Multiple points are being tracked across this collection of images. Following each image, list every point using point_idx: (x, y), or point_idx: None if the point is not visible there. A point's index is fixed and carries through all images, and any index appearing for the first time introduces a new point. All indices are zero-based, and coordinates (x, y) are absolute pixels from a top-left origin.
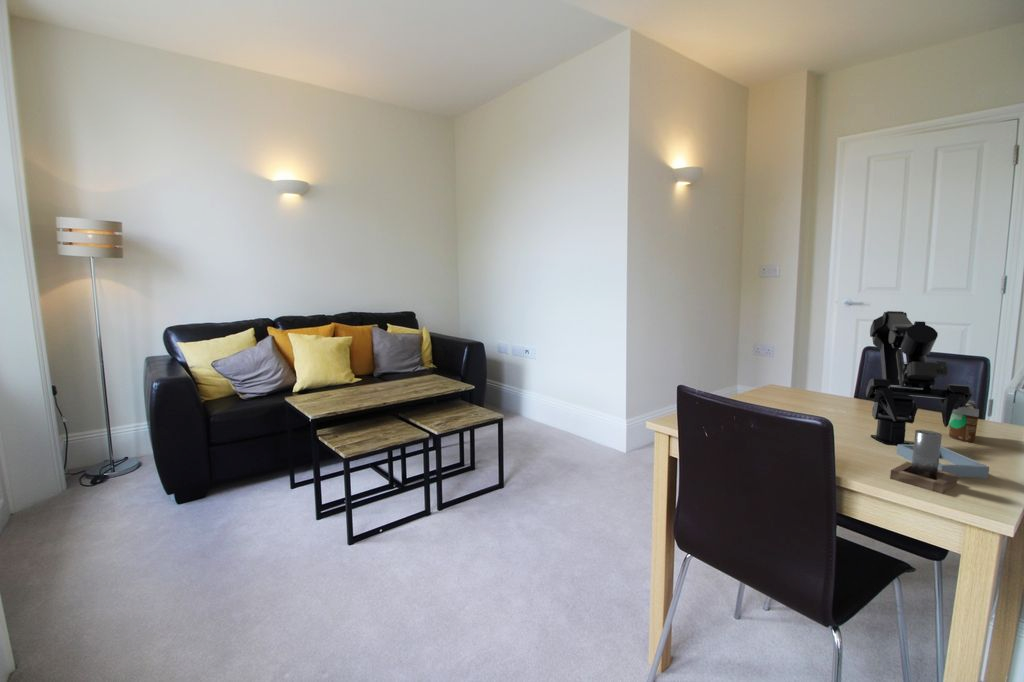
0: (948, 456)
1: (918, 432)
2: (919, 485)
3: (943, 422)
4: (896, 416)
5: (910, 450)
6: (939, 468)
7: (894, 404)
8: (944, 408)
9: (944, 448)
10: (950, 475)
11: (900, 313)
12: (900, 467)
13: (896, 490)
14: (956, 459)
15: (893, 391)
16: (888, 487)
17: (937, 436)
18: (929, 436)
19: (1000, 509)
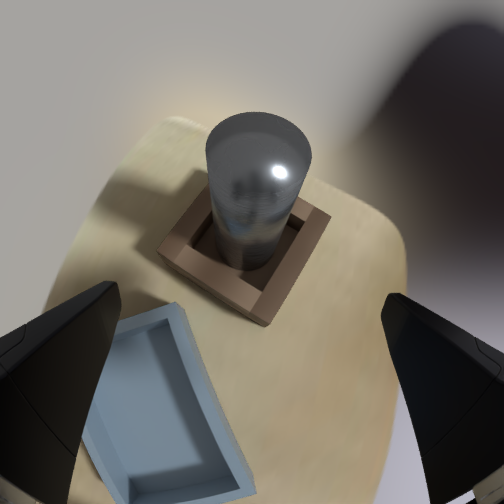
0: (114, 466)
1: (302, 143)
2: None
3: (110, 336)
4: (400, 299)
5: (230, 442)
6: (180, 311)
7: (459, 347)
8: (46, 410)
9: (116, 493)
10: (179, 235)
11: None
12: (303, 250)
13: (312, 190)
14: (101, 440)
15: (502, 500)
16: (325, 202)
17: (236, 115)
18: (267, 115)
19: (134, 171)
